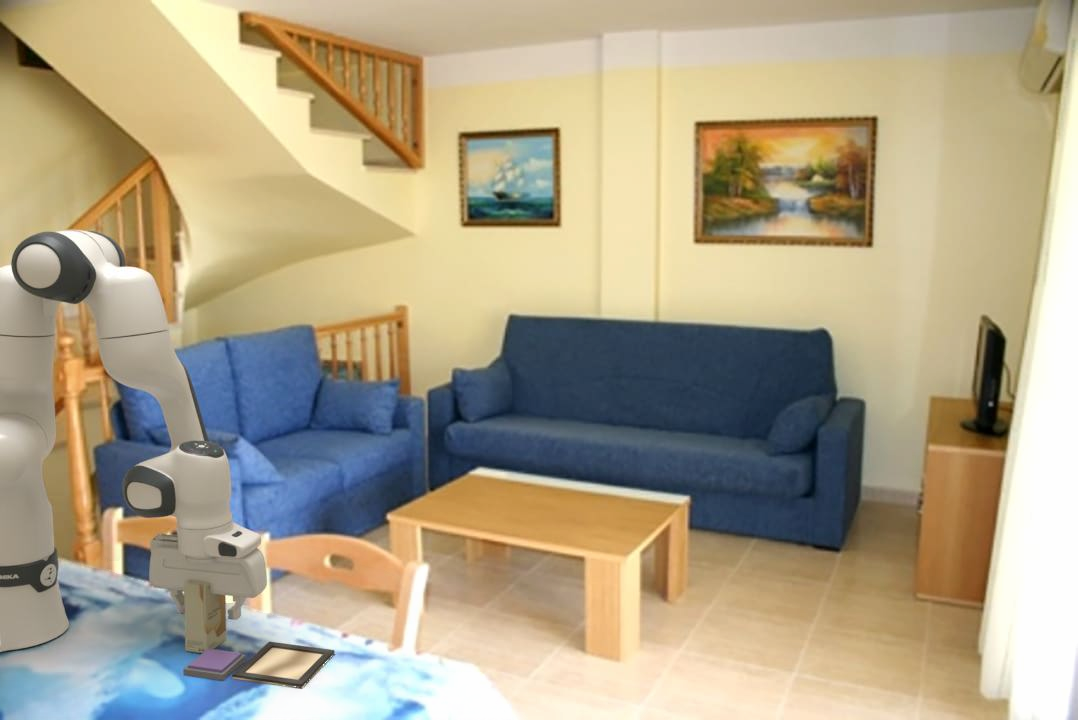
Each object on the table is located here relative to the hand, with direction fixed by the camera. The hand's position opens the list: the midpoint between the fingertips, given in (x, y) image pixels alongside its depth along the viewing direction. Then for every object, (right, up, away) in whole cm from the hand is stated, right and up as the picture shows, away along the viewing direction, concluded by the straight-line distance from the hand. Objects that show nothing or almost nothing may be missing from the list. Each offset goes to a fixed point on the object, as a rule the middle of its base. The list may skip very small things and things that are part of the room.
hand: (209, 615), depth 159 cm
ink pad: (+3, -7, -7) cm, 10 cm away
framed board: (+14, -7, -6) cm, 17 cm away
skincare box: (-1, -6, +1) cm, 6 cm away
